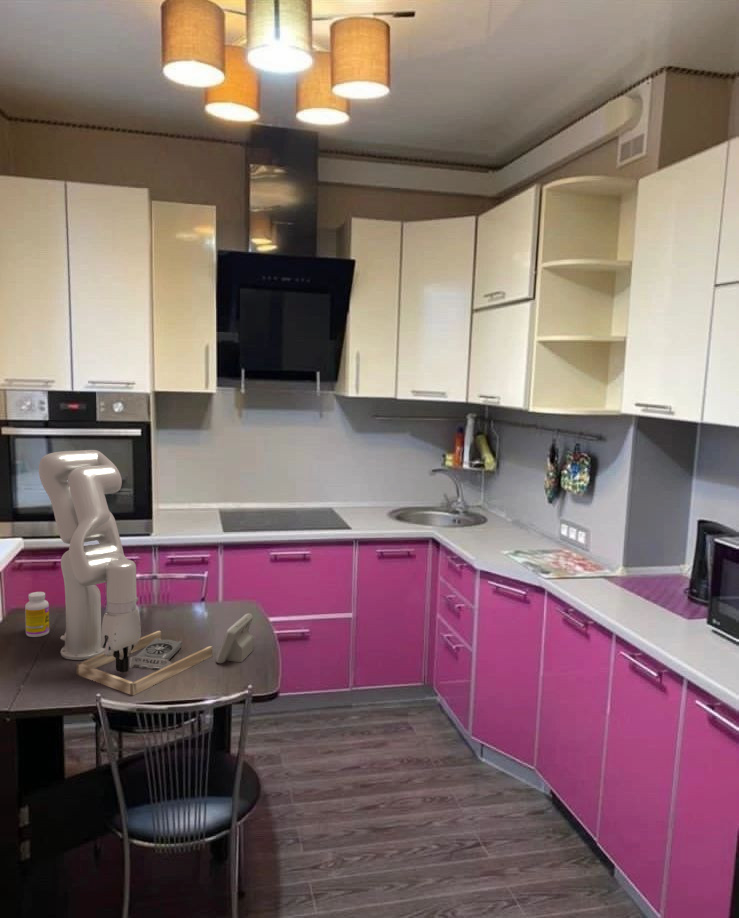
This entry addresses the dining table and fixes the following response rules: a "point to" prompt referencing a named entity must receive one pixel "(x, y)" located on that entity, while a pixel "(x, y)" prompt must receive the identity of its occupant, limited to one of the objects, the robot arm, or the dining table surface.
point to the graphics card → (156, 654)
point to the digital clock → (237, 641)
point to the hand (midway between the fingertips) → (122, 670)
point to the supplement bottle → (37, 615)
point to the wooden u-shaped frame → (126, 686)
